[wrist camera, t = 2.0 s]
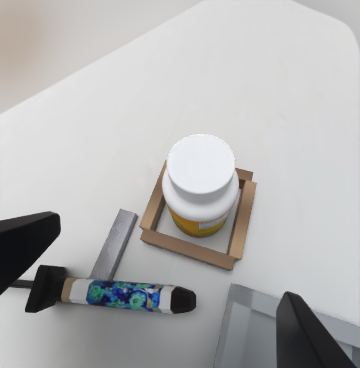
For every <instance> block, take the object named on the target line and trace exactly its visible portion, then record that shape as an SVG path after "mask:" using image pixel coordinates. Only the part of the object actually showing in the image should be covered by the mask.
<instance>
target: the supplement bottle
mask: <svg viewBox="0 0 360 368" xmlns="http://www.w3.org/2000/svg"><path fill="white" fill-rule="evenodd" d="M162 190H163V194H164V198H165V201H166V203H167V205H168V208H169V210H170V213H171V215H172V218H173V220H174V222H175V224H176V225H177V227H178V228H179V229H180V230H181V231H182V232H184V233H186V234H187V235H190V236H193V237H206V236H209V235H212V234H214V233H215V232H217V231H218V230H219V229H220V228H221V227H222V226H223V224H224V222H225V221H226V219H227V217H228V214H229V212H230V210H231V208H232V206H233V204H234V202H235V200H236V197H237V194H238V190H239V179H238V175H237V172H236V170H235V157H234V154H233V152H232V150H231V148H230V147H229V146H228V145H227V144H226V143H225V142H224V141H223V140H221V139H220V138H218V137H215V136H213V135H209V134H194V135H190V136H187V137H185V138H183V139H181V140H179V141H178V142H177V143H176V144H175V145H174V146H173V147H172V149H171V150H170V152H169V154H168V158H167V168H166V170H165V172H164V175H163V179H162Z"/></svg>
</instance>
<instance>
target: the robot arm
mask: <svg viewBox="0 0 360 368" xmlns="http://www.w3.org/2000/svg"><path fill="white" fill-rule="evenodd" d="M60 232H61V225H60V216H59V214H57V213H54V212H51V211H47V212H42V213H37V214H32V215H27V216H22V217H16V218H11V219H6V220H1V221H0V295H1V294H2V293H3V292H4V291H5V290H6V289H8V288H9V287H10V286H11V285H12V284H13V283H14V282H15V281H16V280H17V279H18V278H19V277H20V276H21V275H22V274H24V273H25V272H26V271H27V270H28V269H29V268H30V267H31V266H32V265H33V264H34V263H35V262H36V260H37V259H38V258H39V257H40V256H41V255H42V254H43V253H44V252H45V250H46V249H47V248H48V247H49V246H50V245H51V244H52V243H53V242H54V240H55V239H56V238H57V237H58V236H59V234H60ZM276 360H277V368H357V367H356V366H355V364H354V363H353V362H352V361H351V359H350V358H349V357H348V356H347V354H346V353H345V352H344V351H343V349H342V348H341V347H340V345H339V344H338V343H337V342H336V340H335V339H334V338H333V337H332V335H331V334H330V333H329V332H328V330H327V329H326V328H325V326H324V325H323V324H322V323H321V321H320V320H319V319H318V318H317V316H316V315H315V314H314V313H313V311H312V310H311V309H310V308H309V306H308V305H307V304H306V302H305V301H304V300H303V299H302V297H301V296H299V295H298V294H295V293H292V292H289V291H287V292H285V293H284V295H283V297H282V299H281V301H280V303H279V305H278V307H277V310H276Z"/></svg>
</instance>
